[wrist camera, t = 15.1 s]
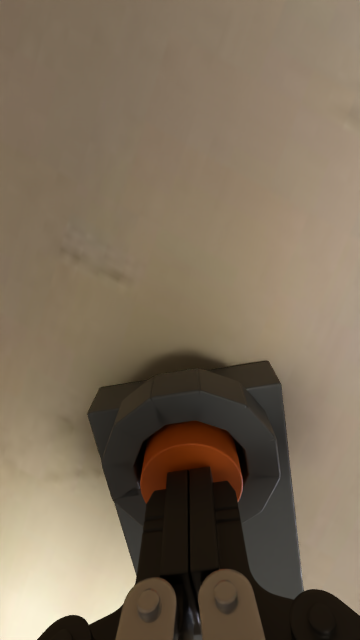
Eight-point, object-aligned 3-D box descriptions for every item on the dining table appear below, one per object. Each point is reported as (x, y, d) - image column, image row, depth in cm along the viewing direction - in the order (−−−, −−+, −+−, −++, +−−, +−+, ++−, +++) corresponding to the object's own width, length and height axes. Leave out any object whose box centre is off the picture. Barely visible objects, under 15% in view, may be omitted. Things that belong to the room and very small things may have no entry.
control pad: (305, 668, 22) (330, 764, 18) (182, 680, 23) (182, 775, 19) (265, 334, 15) (292, 375, 12) (92, 363, 16) (62, 411, 12)
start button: (241, 483, 14) (249, 520, 12) (155, 495, 14) (151, 533, 13) (229, 407, 13) (235, 436, 11) (136, 421, 13) (129, 452, 12)
